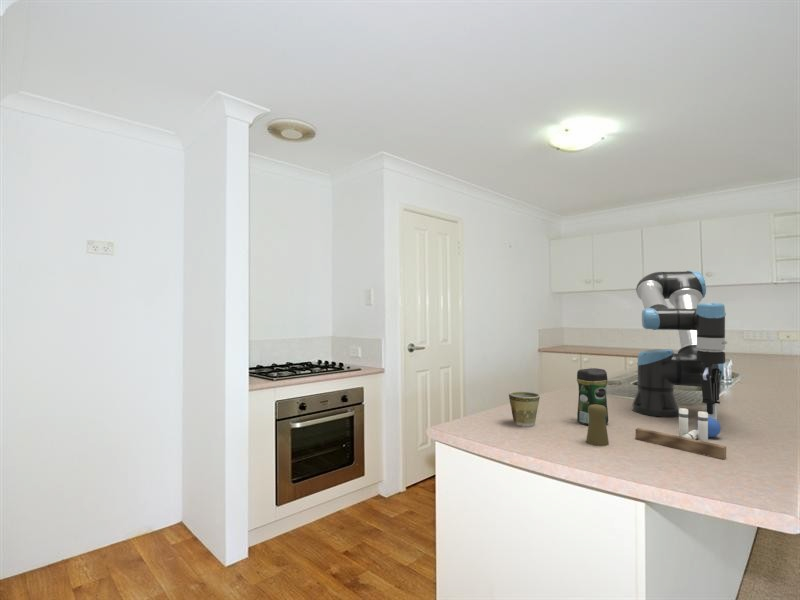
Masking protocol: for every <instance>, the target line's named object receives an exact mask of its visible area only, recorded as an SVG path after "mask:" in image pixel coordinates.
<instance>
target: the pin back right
mask: <svg viewBox="0 0 800 600" xmlns="http://www.w3.org/2000/svg"><path fill="white" fill-rule="evenodd" d="M697 422H698V429H697V430H698V438H697V440H699V441H703V442H708V443H709V437H708V413H707V412H705V411H703V410H702V411H700V410H699V411H697Z"/></svg>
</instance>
